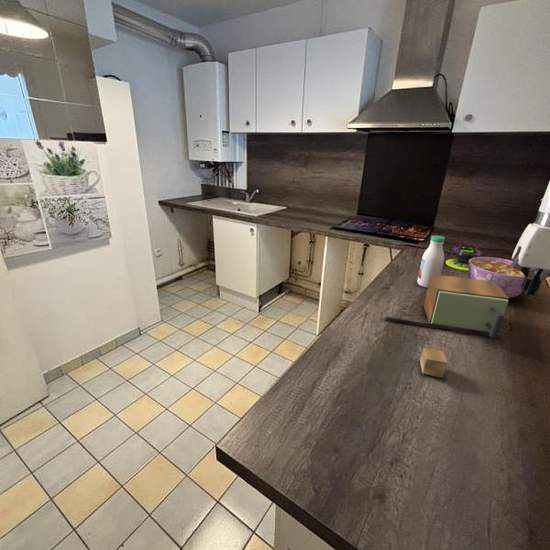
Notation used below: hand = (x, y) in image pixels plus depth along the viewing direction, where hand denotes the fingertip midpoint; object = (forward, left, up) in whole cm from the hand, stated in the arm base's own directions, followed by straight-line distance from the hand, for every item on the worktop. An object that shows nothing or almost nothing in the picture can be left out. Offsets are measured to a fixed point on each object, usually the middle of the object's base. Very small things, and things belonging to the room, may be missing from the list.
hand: (527, 292), depth 74 cm
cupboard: (+16, -11, -17) cm, 26 cm away
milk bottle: (+15, -38, -17) cm, 44 cm away
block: (+22, +17, -17) cm, 32 cm away
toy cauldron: (-5, -68, -17) cm, 70 cm away
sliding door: (+10, -2, -16) cm, 19 cm away
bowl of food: (-7, -36, -17) cm, 41 cm away
